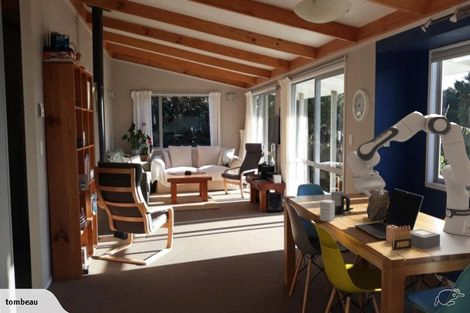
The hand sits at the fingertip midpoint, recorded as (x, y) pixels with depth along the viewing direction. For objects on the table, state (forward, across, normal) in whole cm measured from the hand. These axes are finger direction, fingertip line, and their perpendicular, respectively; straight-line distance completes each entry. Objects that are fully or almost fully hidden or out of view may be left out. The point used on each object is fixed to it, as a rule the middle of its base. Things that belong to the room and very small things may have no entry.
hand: (376, 195), depth 223 cm
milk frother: (-19, +20, +52) cm, 59 cm away
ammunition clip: (+33, -5, 0) cm, 34 cm away
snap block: (+25, 0, +8) cm, 26 cm away
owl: (-2, +26, +35) cm, 44 cm away
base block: (+33, +10, 0) cm, 34 cm away
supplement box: (-12, -2, +45) cm, 46 cm away
